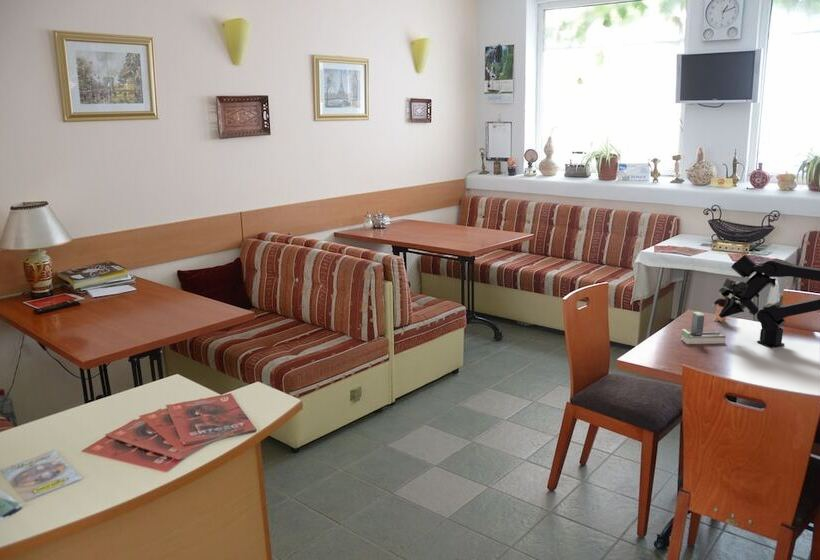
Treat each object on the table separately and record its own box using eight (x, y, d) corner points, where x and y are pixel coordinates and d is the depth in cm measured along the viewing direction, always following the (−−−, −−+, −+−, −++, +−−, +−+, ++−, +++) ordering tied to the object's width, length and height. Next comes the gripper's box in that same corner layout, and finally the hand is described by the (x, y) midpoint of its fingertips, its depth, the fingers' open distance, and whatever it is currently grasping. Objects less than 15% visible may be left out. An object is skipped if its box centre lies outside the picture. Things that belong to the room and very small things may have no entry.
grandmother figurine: (710, 321, 276) (714, 290, 273) (710, 318, 280) (713, 288, 277) (731, 323, 274) (735, 292, 271) (731, 320, 277) (735, 290, 274)
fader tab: (697, 333, 254) (700, 311, 252) (703, 337, 250) (705, 314, 248) (689, 333, 254) (692, 311, 252) (694, 337, 250) (697, 315, 248)
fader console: (718, 338, 255) (719, 328, 254) (724, 343, 250) (725, 332, 250) (680, 339, 255) (681, 329, 254) (686, 343, 250) (687, 333, 249)
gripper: (726, 265, 256) (694, 295, 258) (753, 277, 238) (719, 309, 240) (744, 286, 258) (712, 315, 260) (773, 299, 240) (738, 330, 242)
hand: (720, 316), depth 251 cm, fingers closed
